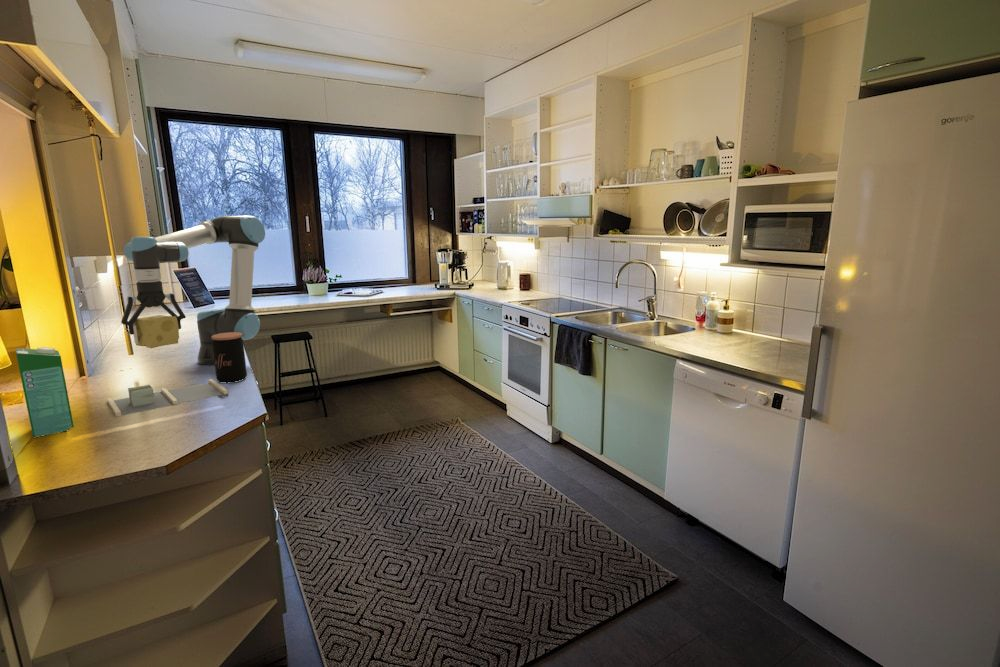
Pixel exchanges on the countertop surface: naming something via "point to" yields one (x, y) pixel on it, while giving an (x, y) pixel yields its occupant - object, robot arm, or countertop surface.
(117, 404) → the slot board
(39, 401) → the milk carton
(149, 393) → the sage block
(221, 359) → the coffee jar
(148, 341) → the cheese
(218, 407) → the countertop surface
